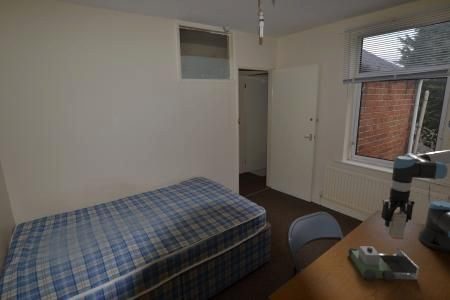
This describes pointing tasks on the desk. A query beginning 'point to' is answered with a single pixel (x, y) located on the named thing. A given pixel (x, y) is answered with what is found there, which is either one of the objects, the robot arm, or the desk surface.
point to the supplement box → (397, 224)
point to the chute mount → (401, 265)
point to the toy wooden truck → (370, 263)
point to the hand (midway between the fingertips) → (394, 231)
